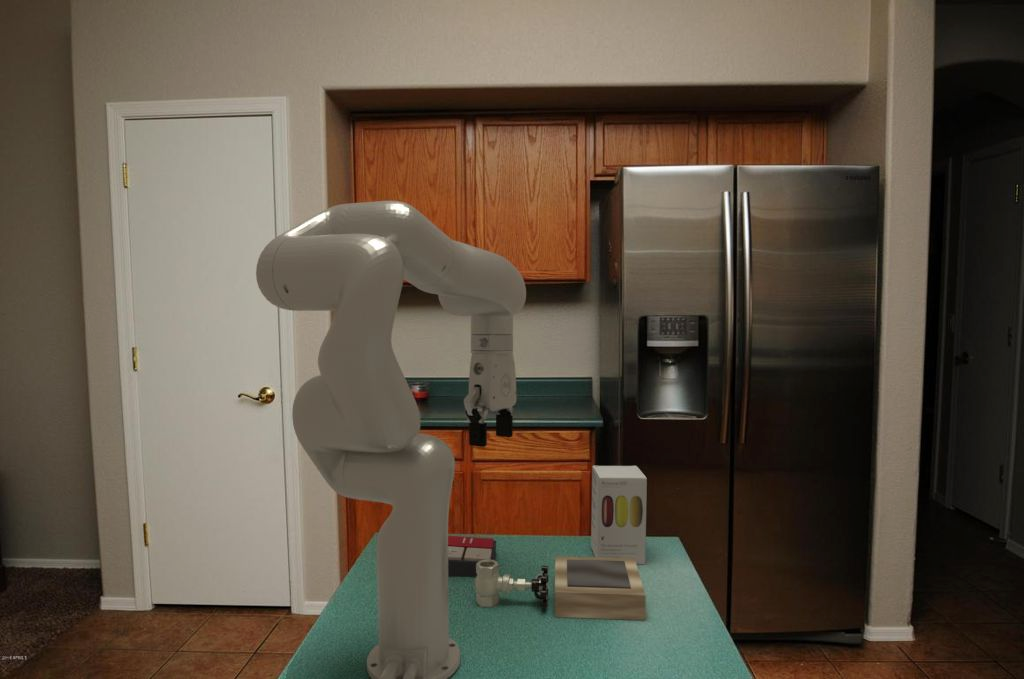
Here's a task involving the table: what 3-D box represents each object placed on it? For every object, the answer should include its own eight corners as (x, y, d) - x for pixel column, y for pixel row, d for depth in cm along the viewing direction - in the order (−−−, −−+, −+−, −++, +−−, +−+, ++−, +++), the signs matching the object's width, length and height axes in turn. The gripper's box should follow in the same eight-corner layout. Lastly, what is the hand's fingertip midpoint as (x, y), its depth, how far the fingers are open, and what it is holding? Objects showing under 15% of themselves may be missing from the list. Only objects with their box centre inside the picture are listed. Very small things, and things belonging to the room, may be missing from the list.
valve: (471, 611, 98) (546, 615, 97) (471, 571, 98) (546, 574, 96) (478, 592, 105) (548, 596, 103) (478, 554, 104) (548, 557, 103)
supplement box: (596, 565, 115) (596, 477, 114) (589, 546, 125) (589, 464, 124) (647, 565, 115) (648, 476, 115) (636, 546, 125) (637, 464, 124)
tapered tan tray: (645, 620, 95) (645, 593, 95) (554, 617, 96) (554, 590, 96) (634, 580, 109) (634, 556, 109) (555, 577, 110) (555, 554, 110)
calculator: (492, 559, 110) (410, 554, 111) (491, 582, 111) (409, 577, 111) (496, 536, 121) (421, 531, 122) (495, 557, 122) (420, 552, 122)
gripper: (486, 347, 99) (486, 452, 100) (531, 344, 115) (531, 435, 115) (447, 346, 103) (447, 447, 103) (496, 343, 118) (495, 431, 118)
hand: (491, 440), depth 109 cm, fingers open, 9 cm apart
